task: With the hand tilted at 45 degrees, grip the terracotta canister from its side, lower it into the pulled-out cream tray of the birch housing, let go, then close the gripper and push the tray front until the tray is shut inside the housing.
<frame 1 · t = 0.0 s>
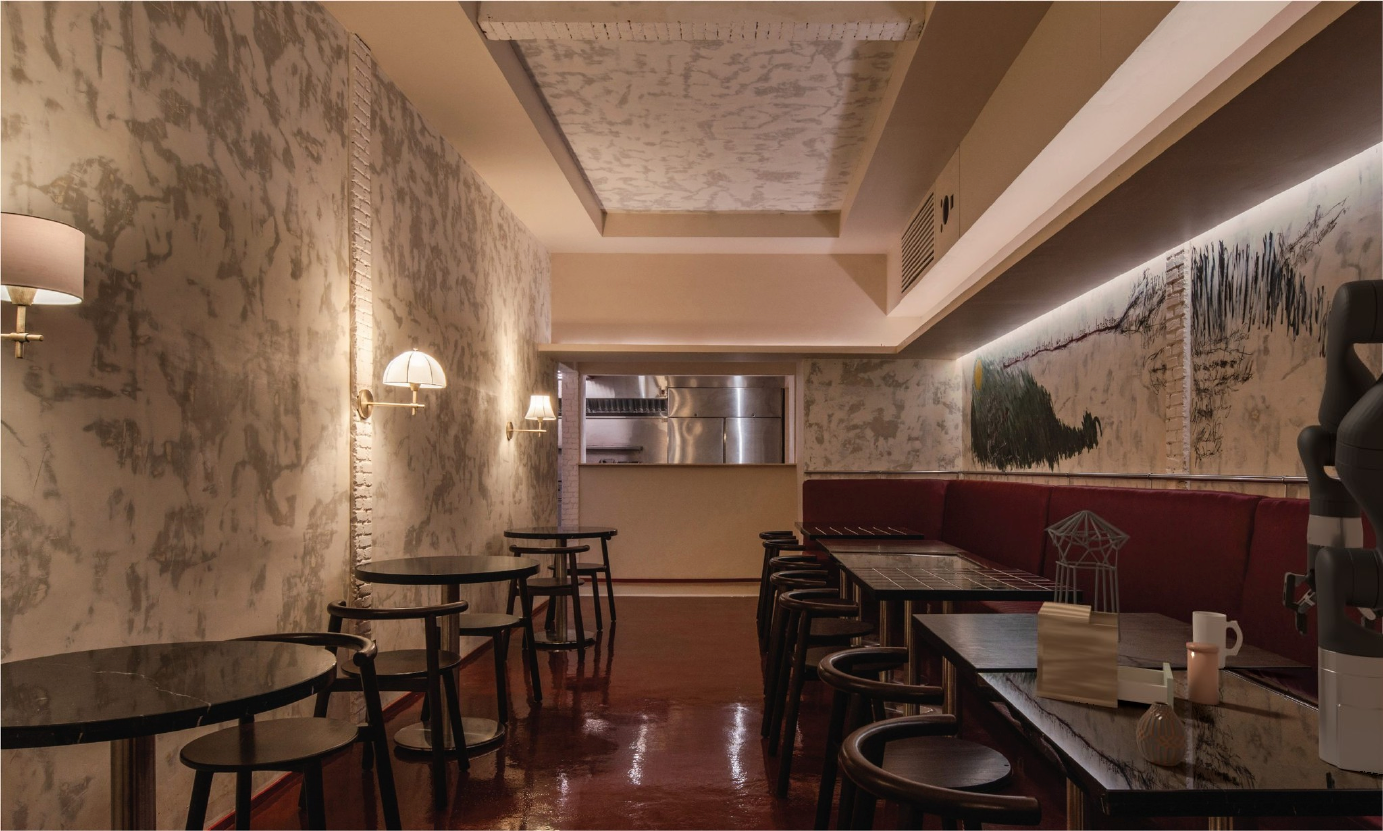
hand: (1334, 637, 143), 17 cm above the table, tool pointing down, fingers open, 8 cm apart
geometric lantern: (1084, 656, 204), on the table
housing: (1078, 691, 169), on the table
mug: (1217, 667, 197), on the table
vase: (1161, 763, 128), on the table
tray: (1131, 681, 165), point 3 cm above the table, slide at 8.0 cm
canister: (1202, 701, 165), on the table
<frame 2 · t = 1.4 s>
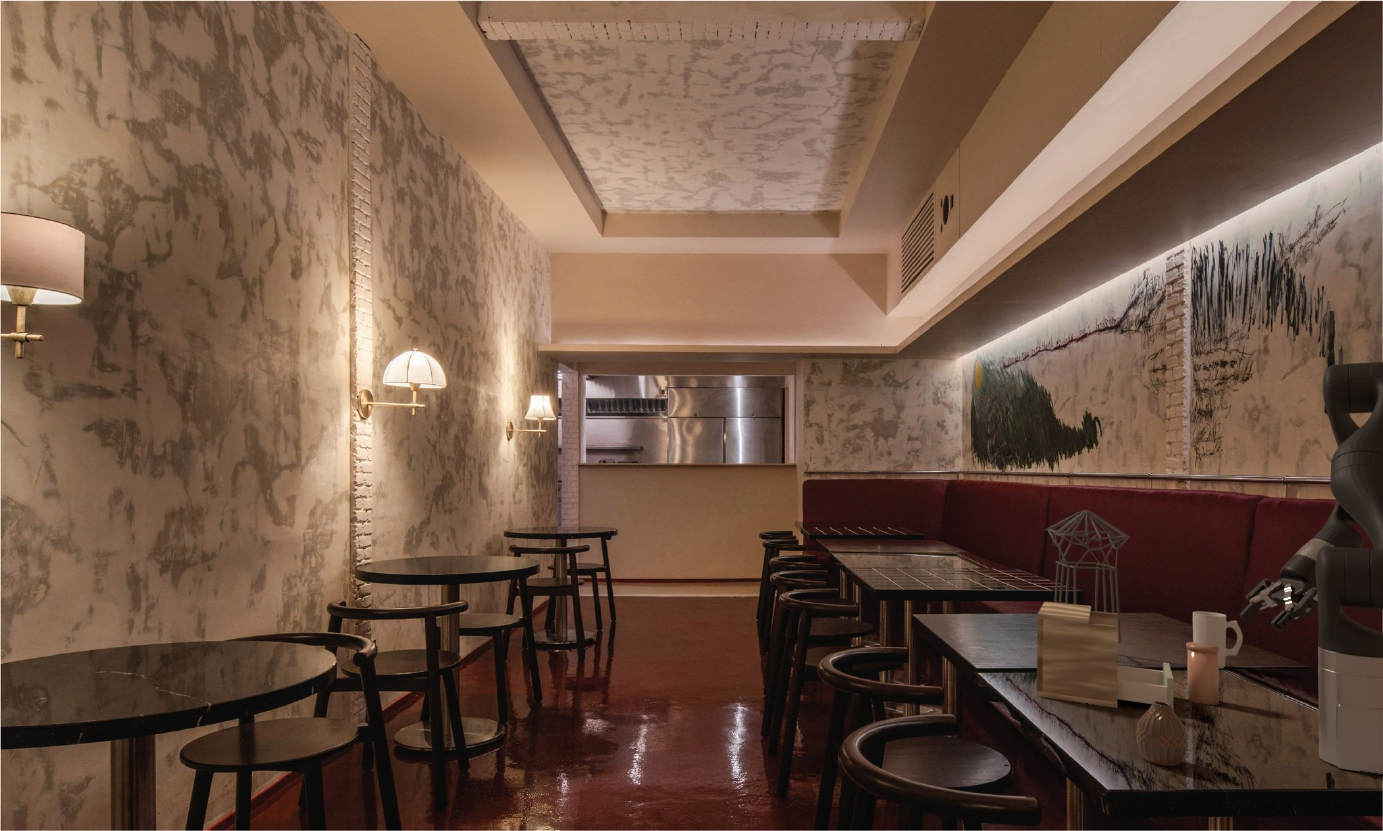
hand: (1258, 623, 167), 15 cm above the table, tool tilted 45°, fingers open, 8 cm apart
nothing on the table moved.
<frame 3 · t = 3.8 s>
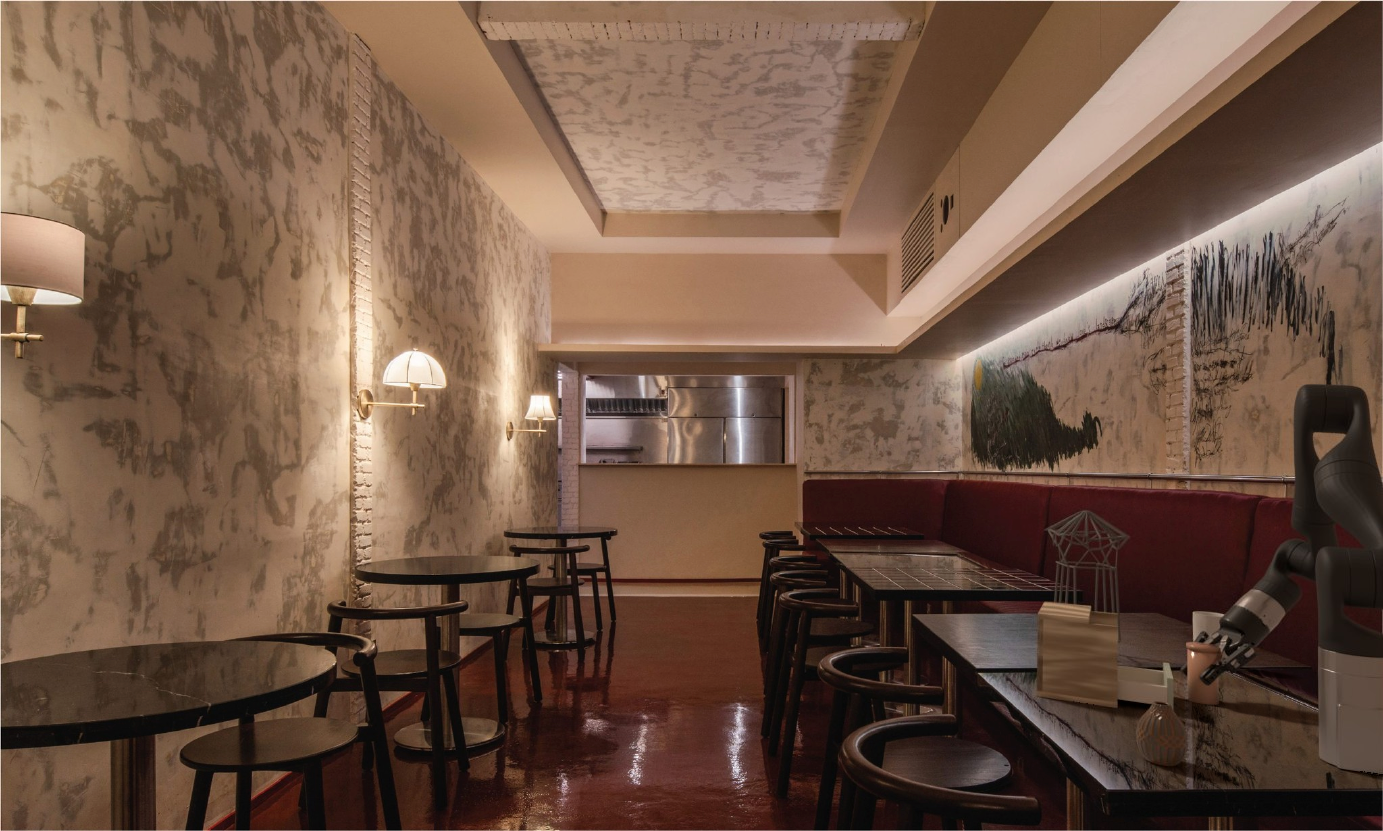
hand: (1193, 677, 165), 4 cm above the table, tool tilted 45°, fingers closed on canister, 5 cm apart
canister: (1202, 701, 165), on the table, touching gripper
everything else where it was.
when the fingers open (8 cm above the table, at t = 8.7 s): canister drops 2 cm, resting on tray.
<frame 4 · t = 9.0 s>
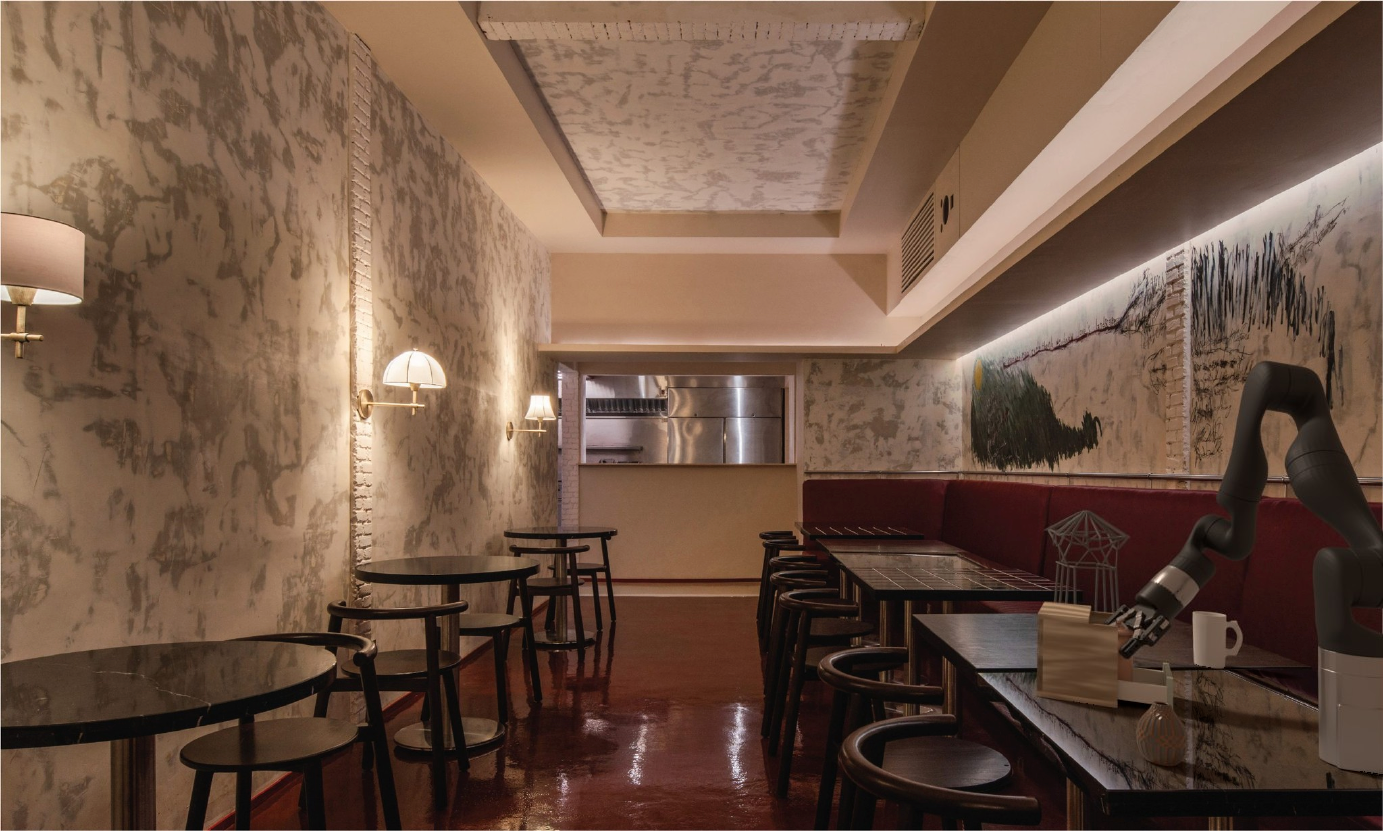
hand: (1110, 651, 166), 9 cm above the table, tool tilted 45°, fingers open, 8 cm apart
tray: (1131, 681, 165), point 3 cm above the table, slide at 8.0 cm, touching canister
canister: (1118, 685, 166), point 2 cm above the table, touching tray
everything else where it was.
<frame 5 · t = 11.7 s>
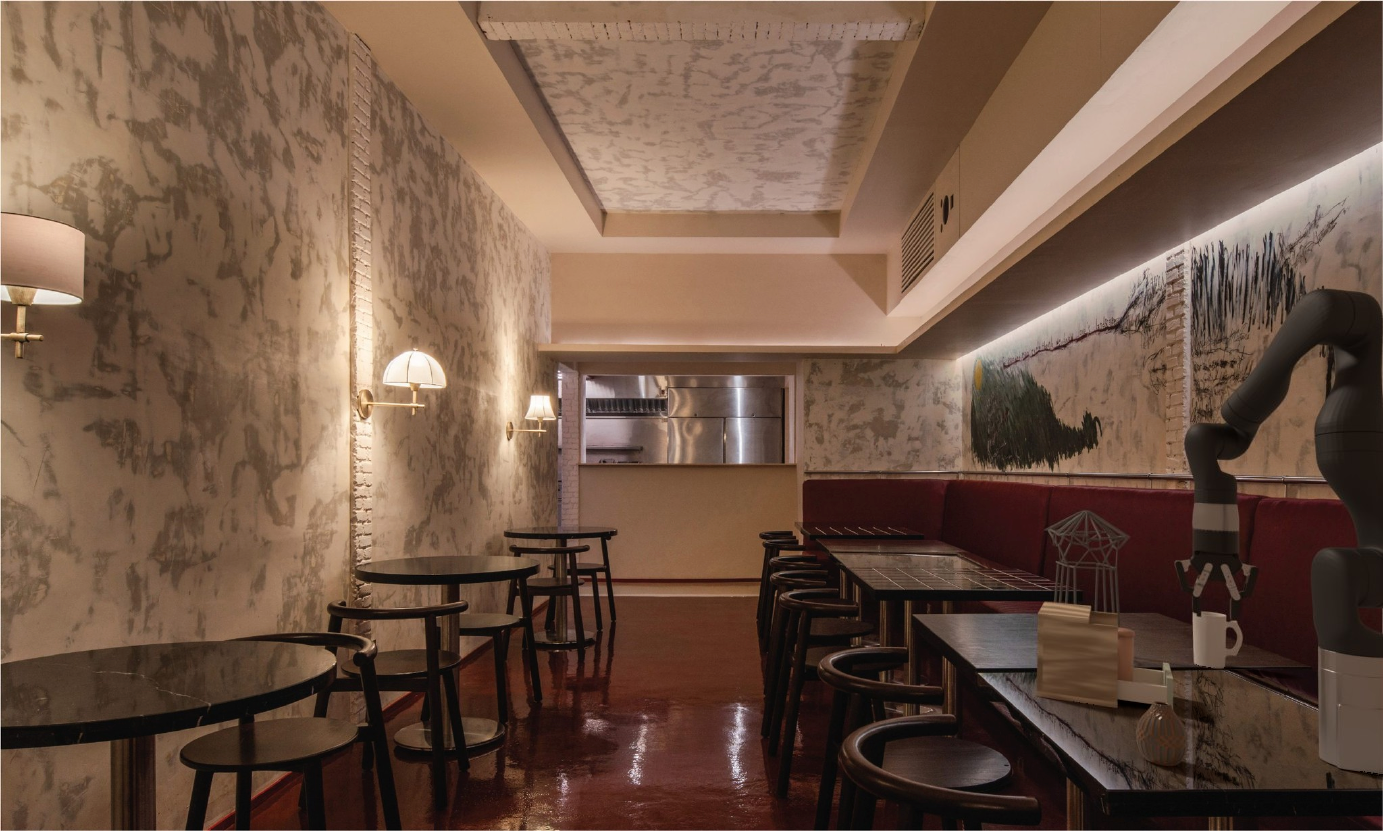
hand: (1215, 617, 159), 17 cm above the table, tool pointing down, fingers open, 5 cm apart
nothing on the table moved.
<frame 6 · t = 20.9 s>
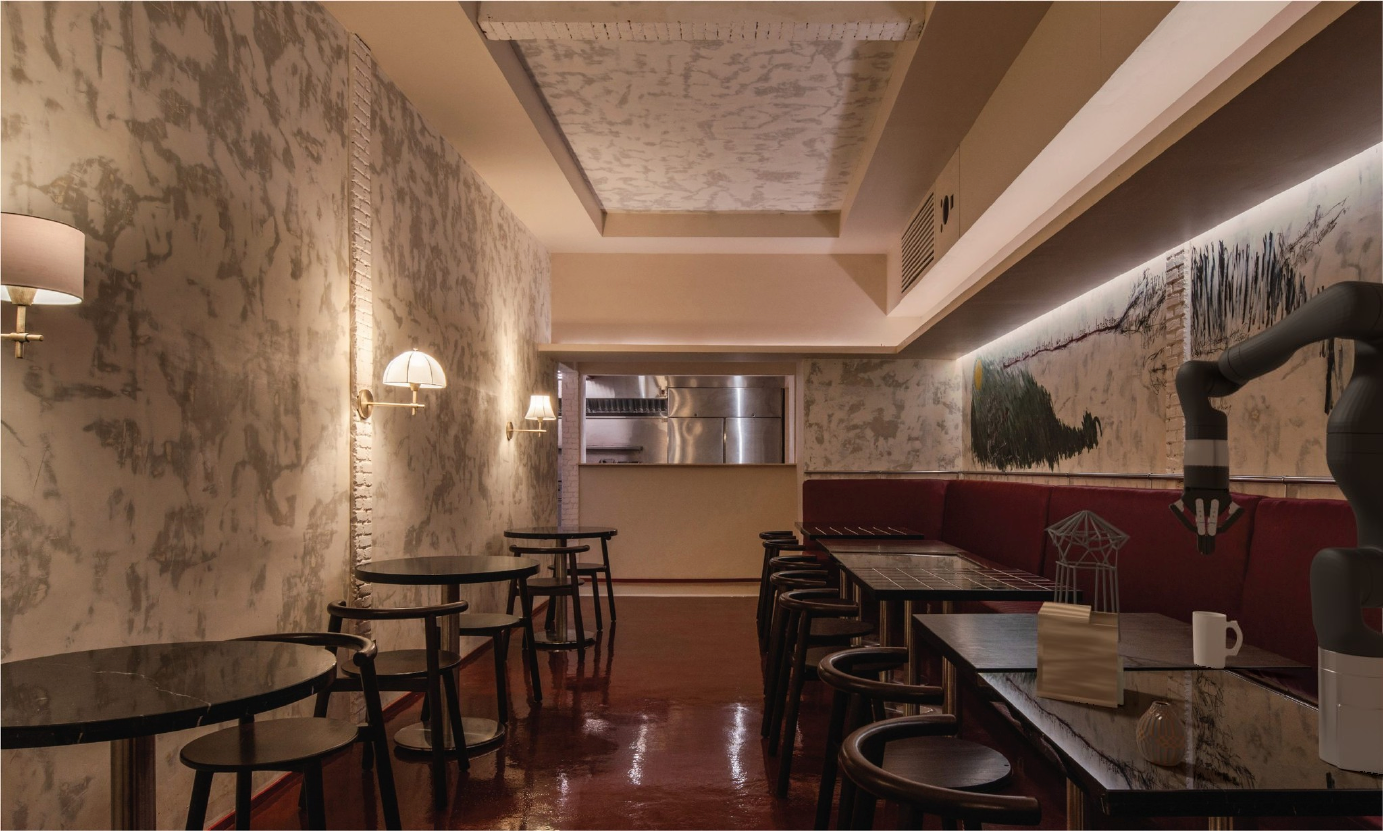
hand: (1206, 554, 161), 29 cm above the table, tool pointing down, fingers closed
tray: (1085, 675, 168), point 3 cm above the table, slide at -0.2 cm, touching canister
canister: (1072, 679, 169), point 2 cm above the table, touching tray
everything else where it was.
at the end: tray slide at -0.2 cm; canister inside the target area (1.0 cm from its centre), point 2.3 cm above the table; canister tilted 0° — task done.
